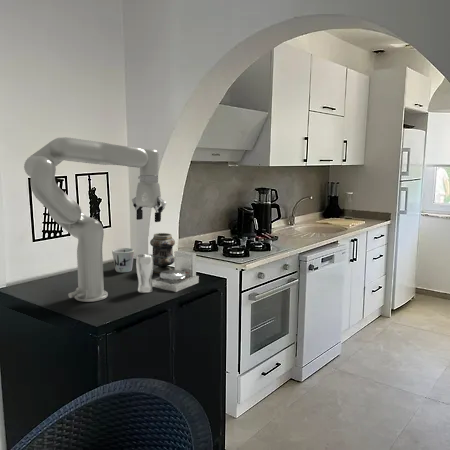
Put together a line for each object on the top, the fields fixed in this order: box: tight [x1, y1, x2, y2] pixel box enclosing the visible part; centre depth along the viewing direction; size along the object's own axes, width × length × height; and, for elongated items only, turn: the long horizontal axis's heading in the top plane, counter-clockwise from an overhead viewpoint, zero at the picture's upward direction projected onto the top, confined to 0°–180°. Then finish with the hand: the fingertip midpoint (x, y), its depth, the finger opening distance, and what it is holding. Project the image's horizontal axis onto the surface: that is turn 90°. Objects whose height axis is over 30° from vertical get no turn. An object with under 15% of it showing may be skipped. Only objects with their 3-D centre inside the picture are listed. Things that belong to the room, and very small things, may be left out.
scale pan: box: [159, 269, 186, 280], centre depth 198 cm, size 12×11×1 cm
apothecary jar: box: [149, 232, 176, 274], centre depth 220 cm, size 12×12×18 cm
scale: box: [152, 250, 200, 293], centre depth 199 cm, size 16×13×13 cm
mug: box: [111, 247, 135, 273], centre depth 223 cm, size 10×15×10 cm
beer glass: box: [135, 253, 154, 294], centre depth 189 cm, size 7×7×15 cm
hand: (148, 220), depth 192 cm, fingers open, 9 cm apart
